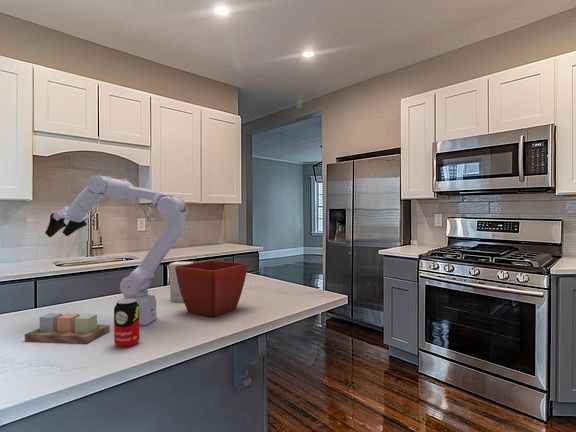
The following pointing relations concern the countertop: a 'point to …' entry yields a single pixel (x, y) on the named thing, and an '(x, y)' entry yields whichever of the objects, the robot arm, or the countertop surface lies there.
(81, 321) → the sage block
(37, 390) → the countertop surface
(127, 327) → the beverage can
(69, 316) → the terracotta block
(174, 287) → the skincare box
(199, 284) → the plant pot
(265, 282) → the countertop surface
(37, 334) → the board
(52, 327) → the slate block
